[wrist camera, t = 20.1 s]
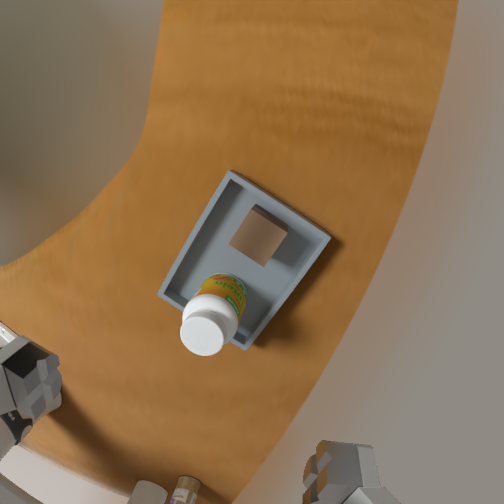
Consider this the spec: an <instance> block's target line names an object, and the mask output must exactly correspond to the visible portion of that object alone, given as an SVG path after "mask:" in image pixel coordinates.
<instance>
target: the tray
mask: <svg viewBox="0 0 504 504" xmlns="http://www.w3.org/2000/svg"><path fill="white" fill-rule="evenodd" d="M255 204H257V205H259V206H260V207H262V208H263V209H265V210H266V211H268V212H269V213H271V214H273V215H274V216H276V217H277V218H279V219H280V220H282V221H283V222H285V223H286V224H288V233H287V235H286V236H285V238H284V239H283V240H282V242H281V243H280V245H279V246H278V248H277V249H276V251H275V252H274V253H273V255H272V256H271V258H270V259H269V261H268V262H267V264H266V265H265V266H264V267H263V266H261V265H259V264H258V263H256V262H255V261H253V260H252V259H250V258H249V257H247V256H246V255H244V254H243V253H241V252H239V251H238V250H236V249H235V248H233V247H232V246H230V245H229V242H230V241H231V239H232V237H233V236H234V234H235V233H236V231H237V230H238V228H239V226H240V225H241V223H242V222H243V220H244V219H245V217H246V216H247V214H248V212H249V211H250V209H251V208H252V207H253V206H254V205H255ZM330 239H331V236H330V234H329V233H328V232H327V231H325V230H324V229H322V228H321V227H320V226H318V225H317V224H315V223H314V222H312V221H311V220H309V219H308V218H306V217H305V216H303V215H302V214H300V213H299V212H297V211H296V210H294V209H293V208H291V207H290V206H288V205H287V204H285V203H284V202H282V201H281V200H279V199H278V198H276V197H275V196H273V195H272V194H270V193H269V192H267V191H265V190H264V189H262V188H261V187H259V186H258V185H256V184H255V183H253V182H251V181H250V180H248V179H247V178H245V177H244V176H242V175H240V174H239V173H237V172H236V171H234V170H228V172H227V174H226V175H225V177H224V178H223V180H222V182H221V183H220V185H219V187H218V188H217V190H216V192H215V193H214V195H213V197H212V198H211V200H210V202H209V203H208V205H207V207H206V208H205V210H204V212H203V213H202V215H201V217H200V218H199V220H198V222H197V224H196V225H195V227H194V229H193V230H192V232H191V234H190V236H189V237H188V239H187V241H186V243H185V244H184V246H183V248H182V250H181V252H180V253H179V255H178V257H177V259H176V260H175V262H174V264H173V266H172V268H171V270H170V271H169V273H168V275H167V277H166V279H165V280H164V282H163V284H162V286H161V288H160V290H159V292H158V293H157V295H158V296H159V297H161V298H162V299H164V300H165V301H167V302H168V303H170V304H171V305H173V306H174V307H176V308H177V309H179V310H180V311H182V312H183V311H184V309H185V307H186V305H187V303H188V302H189V301H190V300H191V298H192V297H193V296H194V294H195V293H196V291H197V290H198V289H199V287H200V286H201V285H202V283H203V282H204V281H205V280H206V279H207V278H208V277H209V276H211V275H213V274H216V273H228V274H231V275H233V276H235V277H237V278H238V279H239V280H240V281H241V282H242V283H243V285H244V287H245V289H246V292H247V302H246V305H245V308H244V311H243V314H242V317H241V320H240V323H239V326H238V329H237V331H236V333H235V335H234V337H233V338H232V339H231V340H230V341H229V342H231V343H233V344H234V345H236V346H238V347H239V348H241V349H243V350H245V351H246V350H247V349H248V348H249V347H250V345H251V344H252V343H253V342H254V340H255V339H256V338H257V337H258V335H259V334H260V333H261V331H262V330H263V329H264V328H265V326H266V325H267V324H268V323H269V321H270V320H271V319H272V317H273V316H274V315H275V313H276V312H277V311H278V310H279V308H280V307H281V306H282V304H283V303H284V302H285V300H286V299H287V298H288V296H289V295H290V294H291V292H292V291H293V290H294V288H295V287H296V286H297V284H298V283H299V282H300V280H301V279H302V278H303V276H304V275H305V274H306V272H307V271H308V270H309V268H310V267H311V265H312V264H313V263H314V261H315V260H316V259H317V257H318V256H319V254H320V253H321V252H322V250H323V249H324V247H325V246H326V245H327V243H328V242H329V240H330Z"/></svg>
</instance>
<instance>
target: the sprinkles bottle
mask: <svg viewBox="0 0 504 504" xmlns="http://www.w3.org/2000/svg"><path fill="white" fill-rule="evenodd" d="M200 486H201V484H200V482H199V481H198V480H197V479H195V478H193V477H189V476H181V477H179V479H178V483H177V486H176V489H175V490H174V493H173V496H172V498H171V501H170V504H195V501H196V498H197V493H198V490H199V487H200Z"/></svg>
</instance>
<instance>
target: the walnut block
mask: <svg viewBox="0 0 504 504" xmlns="http://www.w3.org/2000/svg"><path fill="white" fill-rule="evenodd" d="M287 233H288V224H286V223H285V222H283V221H282V220H280V219H279V218H277V217H276V216H274V215H273V214H271V213H269V212H268V211H266V210H265V209H263V208H262V207H260V206H259V205H257V204H255V205H254V206H253V207H252V208H251V209H250V211H249V212H248V214H247V216H246V217H245V219H244V220H243V222H242V223H241V225H240V226H239V228H238V230H237V231H236V233H235V234H234V236H233V237H232V239H231V241H230V242H229V245H230V246H232V247H233V248H235V249H236V250H238V251H239V252H241V253H243V254H244V255H246V256H247V257H249V258H250V259H252V260H253V261H255V262H256V263H258V264H259V265H261V266H263V267H264V266H265V265H266V264H267V262H268V261H269V259H270V258H271V256H272V255H273V253H274V252H275V251H276V249H277V248H278V246H279V245H280V243H281V242H282V240H283V239H284V238H285V236H286V235H287Z"/></svg>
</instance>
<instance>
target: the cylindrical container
mask: <svg viewBox="0 0 504 504" xmlns="http://www.w3.org/2000/svg"><path fill="white" fill-rule="evenodd" d="M167 495H168V493H167V491H166V490H165V489H164V488H162V487H161V486H159V485H157V484H155V483H152V482H149V481H144V480H141V481H138V482H137V484H136V486H135V488H134V491H133V493H132V495H131V497H130V499H129V501H128V503H127V504H164V503H165V500H166V498H167Z"/></svg>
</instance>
